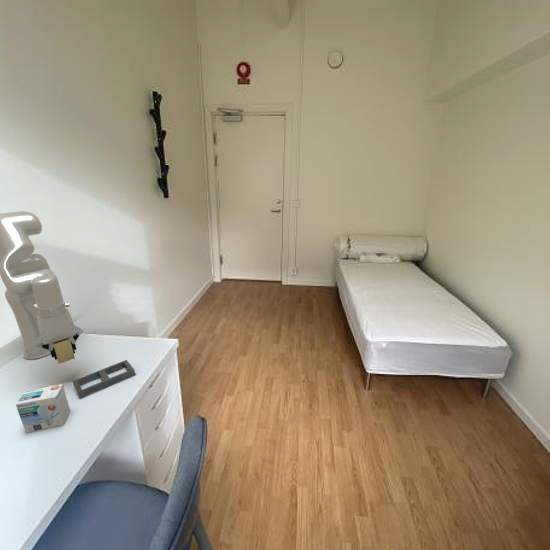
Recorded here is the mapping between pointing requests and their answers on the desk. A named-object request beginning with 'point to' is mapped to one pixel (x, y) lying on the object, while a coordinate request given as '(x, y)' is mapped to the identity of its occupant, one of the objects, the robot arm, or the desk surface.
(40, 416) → the light bulb box
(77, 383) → the grey rectangular frame
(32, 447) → the desk surface
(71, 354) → the tan rectangular block
